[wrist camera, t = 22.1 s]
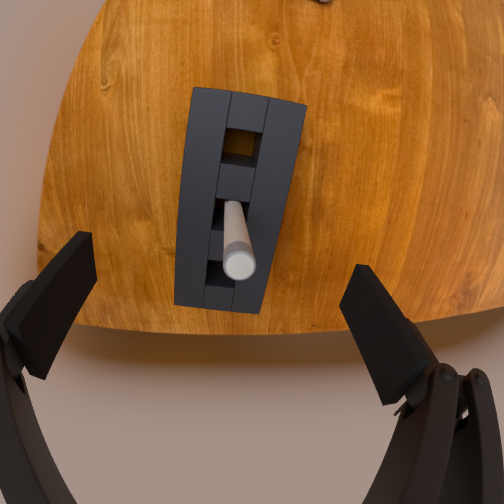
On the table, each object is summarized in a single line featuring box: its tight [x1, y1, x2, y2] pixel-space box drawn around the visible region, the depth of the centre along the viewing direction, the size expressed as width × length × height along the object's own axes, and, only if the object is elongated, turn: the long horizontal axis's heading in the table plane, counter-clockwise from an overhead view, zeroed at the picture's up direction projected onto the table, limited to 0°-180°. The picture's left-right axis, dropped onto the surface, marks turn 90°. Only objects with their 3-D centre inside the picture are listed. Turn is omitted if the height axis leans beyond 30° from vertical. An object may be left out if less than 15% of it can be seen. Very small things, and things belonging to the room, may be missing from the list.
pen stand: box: [174, 87, 307, 314], centre depth 22 cm, size 7×17×5 cm, turn 170°
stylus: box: [223, 199, 256, 280], centre depth 17 cm, size 1×1×15 cm
